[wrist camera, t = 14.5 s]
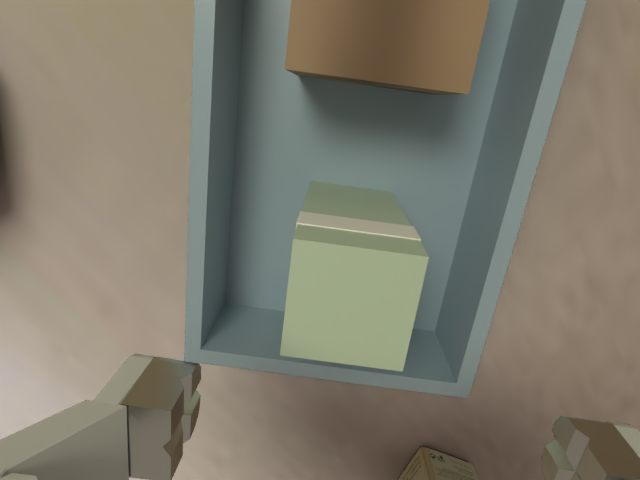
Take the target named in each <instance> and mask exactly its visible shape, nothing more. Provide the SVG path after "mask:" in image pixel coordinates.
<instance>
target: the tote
mask: <svg viewBox="0 0 640 480" xmlns="http://www.w3.org/2000/svg"><path fill="white" fill-rule="evenodd" d="M586 2H587V0H490V5H489V9H488V13H487V18H486V22H485V26H484V31H483V35H482V39H481V43H480V48H479V52H478V56H477V61H476V65H475V69H474V74H473V78H472V82H471V87H470V91H469V94H459V95H433V94H426V93H419V92H411V91H404V90H397V89H390V88H382V87H375V86H368V85H360V84H353V83H346V82H339V81H331V80H324V79H317V78H310V77H302V76H297V75H295V74H293V73H291V72H289V71H287V70H285V61H286V51H287V40H288V30H289V19H290V9H291V0H195V4H194V38H193V73H192V108H191V142H190V177H189V212H188V247H187V281H186V316H185V351H184V361H188V362H196V363H204V364H211V365H219V366H226V367H234V368H241V369H249V370H257V371H264V372H272V373H279V374H287V375H294V376H302V377H309V378H317V379H325V380H332V381H340V382H347V383H355V384H362V385H370V386H377V387H385V388H393V389H400V390H408V391H415V392H423V393H430V394H438V395H446V396H453V397H461V398H468V399H469V395H470V392H471V388H472V385H473V382H474V378H475V375H476V372H477V368H478V365H479V362H480V358H481V355H482V351H483V348H484V345H485V341H486V338H487V335H488V331H489V328H490V325H491V321H492V318H493V315H494V311H495V308H496V304H497V301H498V298H499V294H500V291H501V288H502V284H503V281H504V278H505V274H506V271H507V267H508V264H509V261H510V257H511V254H512V251H513V247H514V244H515V241H516V237H517V234H518V231H519V227H520V224H521V220H522V217H523V214H524V210H525V207H526V204H527V200H528V197H529V194H530V190H531V187H532V183H533V180H534V177H535V173H536V170H537V167H538V163H539V160H540V157H541V153H542V150H543V147H544V143H545V140H546V136H547V133H548V130H549V126H550V123H551V120H552V116H553V113H554V110H555V106H556V103H557V99H558V96H559V93H560V89H561V86H562V83H563V79H564V76H565V73H566V69H567V66H568V63H569V59H570V56H571V52H572V49H573V46H574V42H575V39H576V36H577V32H578V29H579V26H580V22H581V19H582V15H583V12H584V9H585V5H586ZM310 181H317V182H325V183H332V184H339V185H347V186H354V187H362V188H369V189H376V190H384V191H391V192H392V193H393V195H394V197H395V198H396V200H397V202H398V204H399V205H400V207H401V209H402V211H403V212H404V214H405V216H406V218H407V219H408V221H409V223H410V225H411V226H414V228H415V230H416V231H417V233H418V235H419V236H420V238H421V244H422V246H423V247H424V249H425V251H426V253H427V254H428V256H429V260H428V264H427V268H426V273H425V277H424V281H423V286H422V290H421V295H420V299H419V303H418V308H417V312H416V316H415V321H414V325H413V329H412V334H411V338H410V342H409V347H408V351H407V356H406V360H405V364H404V369H403V372H401V371H394V370H386V369H379V368H371V367H364V366H356V365H348V364H341V363H333V362H326V361H318V360H311V359H303V358H296V357H288V356H281V355H280V349H281V340H282V332H283V323H284V314H285V306H286V297H287V288H288V280H289V271H290V262H291V253H292V245H293V238H294V234H295V231H296V222H297V219H298V216H299V213H300V211H302V208H303V205H304V201H305V198H306V195H307V191H308V188H309V185H310Z"/></svg>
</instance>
